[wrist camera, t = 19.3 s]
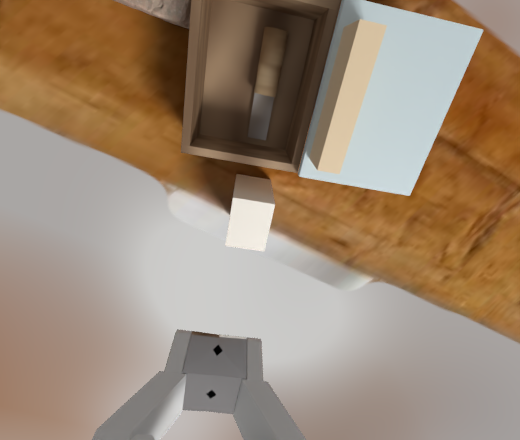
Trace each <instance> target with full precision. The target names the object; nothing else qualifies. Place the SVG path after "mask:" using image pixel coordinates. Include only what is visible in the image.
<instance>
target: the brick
mask: <svg viewBox="0 0 520 440" xmlns="http://www.w3.org/2000/svg"><path fill="white" fill-rule="evenodd" d="M114 1H117V2H119V3H122V4H124V5H126V6H129V7H131V8H134V9H137V10H140V11H143V12H145V13H147V14H149V15H152V16H155V17H158V18H160V19H162V20H164V21H166V22H169V23H172V24H175V25H178V26H181V27H184V28H187V29H189V27H190V13H191V0H114Z"/></svg>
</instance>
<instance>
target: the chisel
mask: <svg viewBox="0 0 520 440" xmlns="http://www.w3.org/2000/svg"><path fill="white" fill-rule="evenodd" d="M287 37H288V32H287V31H284V30H281V29H277V28H272V27H265V28H264V35H263V41H262V47H261V53H260V59H259V65H258V71H257V77H256V83H255V89H254V93H255V94H254V100H253V106H252V112H251V118H250V124H249V130H248V136H247V137H250V138H255V139H260V140H266V137H267V132H268V127H269V122H270V117H271V111H272V106H273V101H274V97H276V93H277V88H278V83H279V78H280V73H281V68H282V62H283V57H284V52H285V47H286V42H287Z"/></svg>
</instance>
